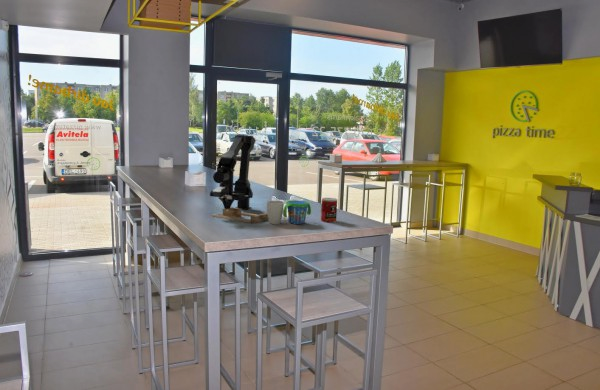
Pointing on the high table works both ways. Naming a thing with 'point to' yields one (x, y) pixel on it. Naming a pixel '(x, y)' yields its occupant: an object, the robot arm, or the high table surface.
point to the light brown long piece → (254, 219)
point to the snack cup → (297, 211)
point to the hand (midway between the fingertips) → (226, 211)
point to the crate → (232, 212)
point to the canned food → (328, 209)
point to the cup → (275, 211)
